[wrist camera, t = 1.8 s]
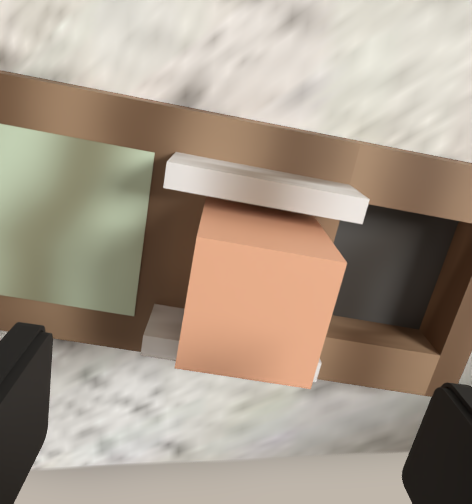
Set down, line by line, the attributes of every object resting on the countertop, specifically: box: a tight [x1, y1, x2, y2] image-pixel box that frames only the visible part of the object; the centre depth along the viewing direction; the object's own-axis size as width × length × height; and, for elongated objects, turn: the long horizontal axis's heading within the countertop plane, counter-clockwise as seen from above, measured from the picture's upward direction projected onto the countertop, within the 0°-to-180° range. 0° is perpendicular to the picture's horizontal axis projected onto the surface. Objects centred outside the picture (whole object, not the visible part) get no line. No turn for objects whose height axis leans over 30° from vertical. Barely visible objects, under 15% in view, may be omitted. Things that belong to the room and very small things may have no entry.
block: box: [175, 197, 347, 389], centre depth 18 cm, size 5×5×6 cm
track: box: [0, 70, 472, 397], centre depth 21 cm, size 26×12×6 cm, turn 79°
